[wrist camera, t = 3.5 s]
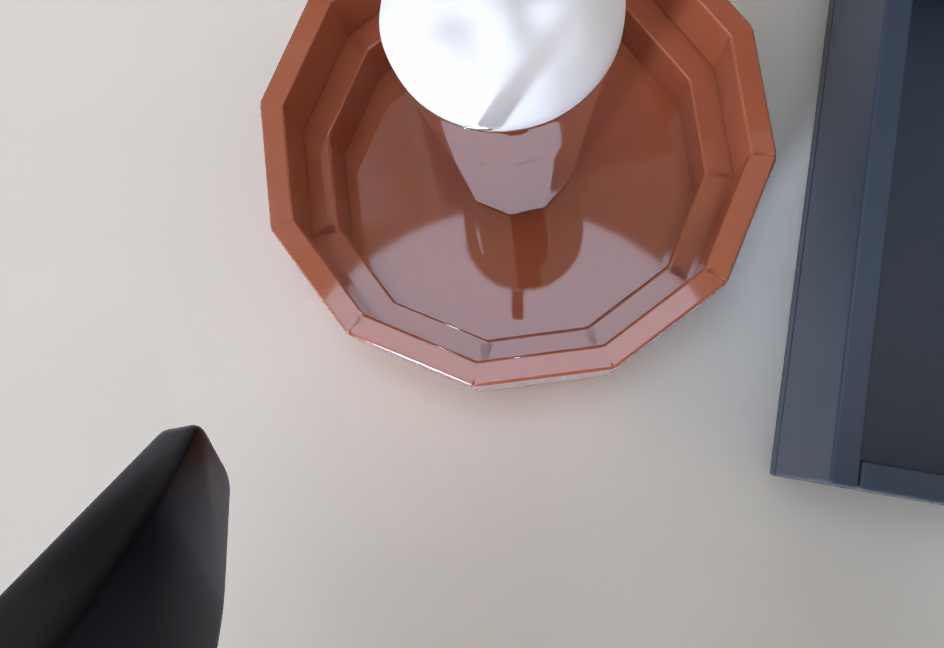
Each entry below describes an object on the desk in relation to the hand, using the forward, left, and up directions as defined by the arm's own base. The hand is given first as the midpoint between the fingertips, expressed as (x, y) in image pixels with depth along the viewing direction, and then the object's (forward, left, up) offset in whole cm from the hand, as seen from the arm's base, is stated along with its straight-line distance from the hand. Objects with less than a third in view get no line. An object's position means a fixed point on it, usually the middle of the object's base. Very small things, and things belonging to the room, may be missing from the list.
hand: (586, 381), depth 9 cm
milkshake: (+3, +6, -13) cm, 15 cm away
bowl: (+3, +6, -13) cm, 15 cm away
